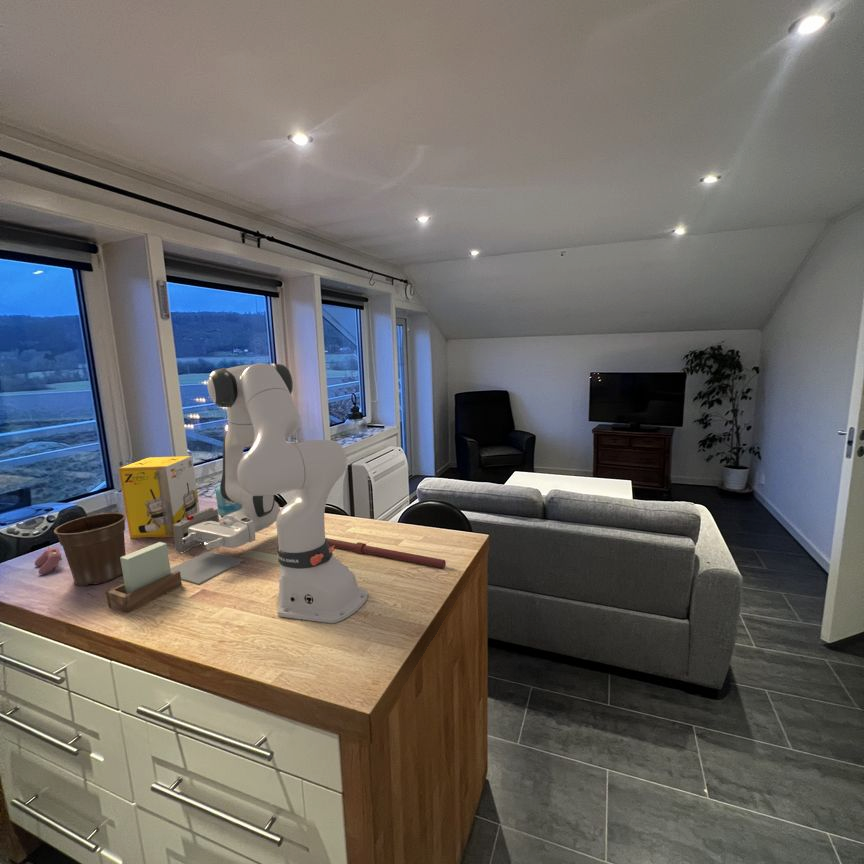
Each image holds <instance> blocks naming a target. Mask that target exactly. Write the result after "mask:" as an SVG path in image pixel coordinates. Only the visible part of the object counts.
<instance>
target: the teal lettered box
mask: <svg viewBox="0 0 864 864" xmlns="http://www.w3.org/2000/svg"><path fill="white" fill-rule="evenodd" d="M215 498H216V506H217V509H218V515H219V517H222V518H223V517H224V516H225V515H228V514H231V513H233V512H236V511H238V510H240V509H242V504H239V503H237V502H232V501H229V500H226V499H224V498H223V496H222V495H221V491H220V485H218V486H217V487H216V488H215Z"/></svg>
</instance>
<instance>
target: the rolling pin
mask: <svg viewBox="0 0 864 864" xmlns="http://www.w3.org/2000/svg"><path fill="white" fill-rule="evenodd" d="M325 538H326V539H327V541H328V543H329V546H330V547H332V546H334V545H335V547H334V548H336V547H337V549H343V550H348V551H354V552H355V553H356V554H361V555H363V554H369V555H373V556H379V557H384V558H389V559H394V560H400V561H403V560H404V561H405V562H408V563H409V562H410V563H415V564H421V565H425V566H430V567H435V568H439V569H445V567H446V563H447V562H446V560H445V559H442V558H436V557H431V556H425V555H419V554H414V553H410V552H403V551H399V550H393V549H389V548H382V547H376V546H371V545H367V544H366V543H365V542H364V543H363V542H356V543H355V542H349V541H344V540H340V539H333V538H328V537H325ZM362 553H363V554H362Z"/></svg>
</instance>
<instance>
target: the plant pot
mask: <svg viewBox="0 0 864 864" xmlns="http://www.w3.org/2000/svg"><path fill="white" fill-rule="evenodd" d="M125 520H127V516H126V513H122V512H105V513H97V514H92V515H88V516H83V517H79V518H76V519H73V520H70V521H67V522H65V523H63V524H61V525H58V526H57V527H56V528H54V530H53V533H54V535H56V536H57V539H58V541H59V544H60V546H62V549H63V551H64V555H65V557H66V561H67V563H68V566H69V569H70V573H71V575H72V579H73V582H74V584H75V585H76V586H81V587H85V586H86V587H88V586H89V585H91V584H95V585H98V584H102V583H106V582H109V581H111V580H114V579H116V578H118V577H119V576H122V575H123V572H122V566H121V560H120V557H123V556H125V555H127V554H126V543H125V531H126V521H125Z"/></svg>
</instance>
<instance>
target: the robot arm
mask: <svg viewBox="0 0 864 864" xmlns="http://www.w3.org/2000/svg"><path fill="white" fill-rule="evenodd" d="M208 375H209V376H208V379H207V391H208V392H207V393H208V394H209V397H210V398H211V400H212V402H213V404H215V405H216V406H218V407H221V408H226V413H227V424H228V425H227V427H228V428H227V431H225V433H224V434H223V435H224V436H223V441H222V475H221V479H220V485H219V486H220V491H221V495H222V496H223V498H224V499H226V500H229V501H232V502H237V503H239V504H242V509H240V510H238V511H236V512H233V513H231V514H228V515H225V516H224V517H223V516H222V518H221V521H219V522H215V521H206V522H202V523H199V524H196V525H193V526H190V527H189V528H188V536H187V537H184V538H183V539H182V543H183V544H186V545H187V544H189V543H191V541H192V540H198V541H202V542H203V549H205V550H208V551H210V550H211V549H214V548H220V547H226V548H230V549H235V548H238V547H241V546H243V545H246V544H248V543H251V542H255V541H256V533H258V532H260V531H262V530H264V529H267V528H269V527H270V526H272V525H273V524H274V523H276V533H277V542H278V545H277V548H276V551H277V553H276V555H277V561H278V563H279V580H278V581H279V584H278V585H279V587H278V589H279V590H278V596H277V600H276V601H277V602H276V603H277V606H278V607H277V616H278V617H282V618H290V619H296V620H302V621H303V620H304V621H309V622H310V621H312V622H319V623H325V624H326V623H327V624H336V623H338V622H341V621H343V620H346V619H347V618H349V617H351V615H353V614H355V613H356V612H357V611H358V610H360V608H361V607H362V606H363V605H364V604H366V601H367V600H368V597H369V593H368V590H367V589H364V588H362V587H359V586H358V581H357V578H356V575H355V573H354V572H353V571H352V570H350V569H349V567H348V566H347V565H344V564H343V563H342V562H341V561H340V560H339V559H337V558H336V557H335V556H334V554H333V552H334V551H336V547H335V545H334V546H332V547H331V546H329V543H328V541H327V539H326V538H327V537H326V529H325V513H326V512H325V509H326V504H327V501H328V498H329V495H330V493H331V491H332V489H333V488H334V486H335V484H336V483H337V481H339V480H340V478H341V477H342V476H343V475H344V473H345V472H346V468H347V465H348V464H347V463H348V458H347V454H346V451H345V450H344V448H343V446H342V445H341V444H340V443H339V442H338V441H336V440H330V439H314V440H307V441H301V442H295V443H289V442H288V441H287V439H289V438H290V437H292V436H293V435H294V433H295V432H296V431H297V430H298V428H299V426H300V423H301V422H300V421H301V416H300V413H299V411H298V408H297V406H296V404H295V402H294V399H293V398H292V392H293V388H294V385H293V383H294V382H293V381H294V380H293V377H292V374H291V372H290V370H289V368H287V367H286V366H285V365H284V364H280V363H271V364H269V363H264V362H258V363H253V364H243V365H237V366H233V367H232V366H231V367H229V368H225V367H222V368H218V369H215V370H213V371H212V372H211V373H210V374H208ZM249 447H250V449H249V450H248V451H247V452H246V453H245V454H244V448H249ZM293 491H295V492H294V494H293V497H292V498H291V499H290V501H288V502H287V503H286V504H285V505H284V506H283V507H281V508H280V504H279V503H278V502H277V501H276V495H280V494H285V493H289V492H293Z"/></svg>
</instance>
